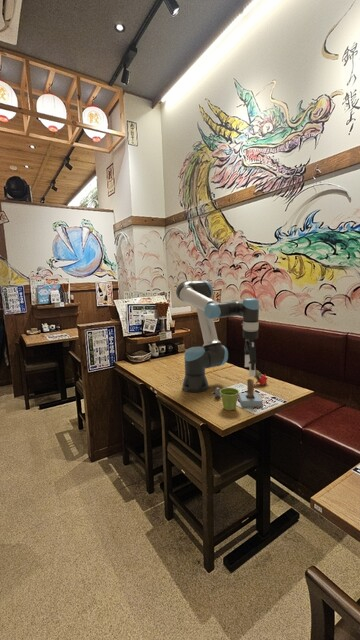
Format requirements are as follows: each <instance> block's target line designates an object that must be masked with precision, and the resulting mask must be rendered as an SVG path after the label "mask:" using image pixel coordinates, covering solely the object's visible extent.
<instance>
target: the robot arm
mask: <svg viewBox="0 0 360 640" xmlns="http://www.w3.org/2000/svg"><path fill="white" fill-rule="evenodd" d="M175 292H176V293H175V295H176V297H177V298H178V299H179V301H181V302H183V303H189V304H191V305H192V306H193V307H195V308H196V312H197V316H198V321H199V322H198V323H199V326H200V330H201V334H202V339H203V340H202V341H203V345H202V346H192V347H189V348H187V349H186V350H185V351H184V378H183V382H182V389H183V390H184V391H186V392H188V393H189V392H190V393H202V392H205V391H207V390H208V389H209V382H208V379H207V377H206V369H211V368H215V367H220V366H223V365H225V364H226V363H227V362H228V359H229V351H228V348H227V347H226V346H225V345H223V344H222V342H221V341H220V340H219V339H218V338H219V337H218V334H217V329H216V325H215V321H214V320H215V319H222V318H228V317H242V323H241V326H242V338H243V339H245V341H244V350H243V352H244V368H248V369H249V373H248V375H249V376H248V377H254V376H255V370H256V364H258V363H257V351H256V350H257V349H256V348H257V347H256V344H257V343H256V342H255V340H257V339H258V338H259V328H260V327H259V321H260V320H259V319H260V318H259V317H260V316H259V314H260V312H259V311H260V304H259V303H260V302H259V299H258V298H252V297H251V298H250V297H249V298H243V300H241V301H240V300H229V301H225V302H223V301H222V302H218V301H216V300H214V299H212V297H213V295H214V294H213V292H214V288H213V286H212V283H210V281H209V280H205V279H204V280H203V279H200V280H199V279H198V280H185V281H182V282H180V283H179V284H178V285H177V287H176V290H175Z"/></svg>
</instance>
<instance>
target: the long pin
mask: <svg viewBox="0 0 360 640" xmlns="http://www.w3.org/2000/svg"><path fill="white" fill-rule="evenodd" d="M246 383H247V384H246V385H247V389H246V390H247V392H246V393H247V399H253V398H254V393H255V392H254V389H255V388H254V386H255V385H254V384H255V383H254V379H252V378H248V379H247V382H246Z"/></svg>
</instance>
